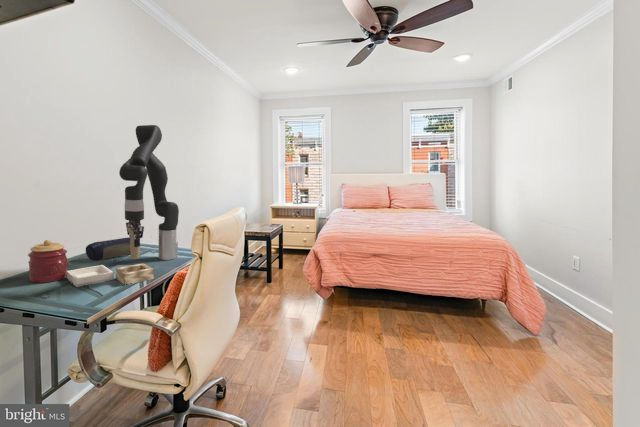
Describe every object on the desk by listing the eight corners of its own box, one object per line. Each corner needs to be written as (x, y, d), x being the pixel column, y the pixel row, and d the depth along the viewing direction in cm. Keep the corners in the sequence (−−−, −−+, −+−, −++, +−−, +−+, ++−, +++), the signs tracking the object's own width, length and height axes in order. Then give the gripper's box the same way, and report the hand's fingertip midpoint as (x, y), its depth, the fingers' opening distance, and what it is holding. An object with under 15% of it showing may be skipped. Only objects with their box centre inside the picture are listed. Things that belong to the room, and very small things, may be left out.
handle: (139, 260, 138) (138, 228, 136) (125, 259, 138) (124, 227, 136) (145, 257, 143) (144, 226, 141) (131, 256, 143) (130, 225, 141)
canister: (74, 276, 139) (72, 239, 136) (39, 285, 127) (36, 245, 125) (58, 271, 144) (56, 235, 141) (23, 279, 132) (20, 240, 130)
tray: (102, 271, 148) (102, 264, 147) (113, 279, 139) (113, 272, 139) (66, 278, 136) (66, 270, 136) (76, 287, 128) (75, 279, 128)
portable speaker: (93, 263, 158) (92, 245, 156) (83, 259, 162) (83, 241, 161) (141, 254, 180) (140, 237, 178) (131, 250, 184) (131, 235, 183)
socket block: (143, 272, 150) (143, 263, 149) (153, 278, 143) (153, 268, 143) (115, 278, 140) (115, 268, 140) (125, 285, 134) (125, 274, 133)
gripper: (150, 210, 136) (150, 247, 139) (136, 206, 144) (137, 241, 147) (132, 212, 130) (132, 250, 133) (118, 207, 138) (119, 243, 141)
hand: (135, 245), depth 140 cm, fingers closed on handle, 4 cm apart
